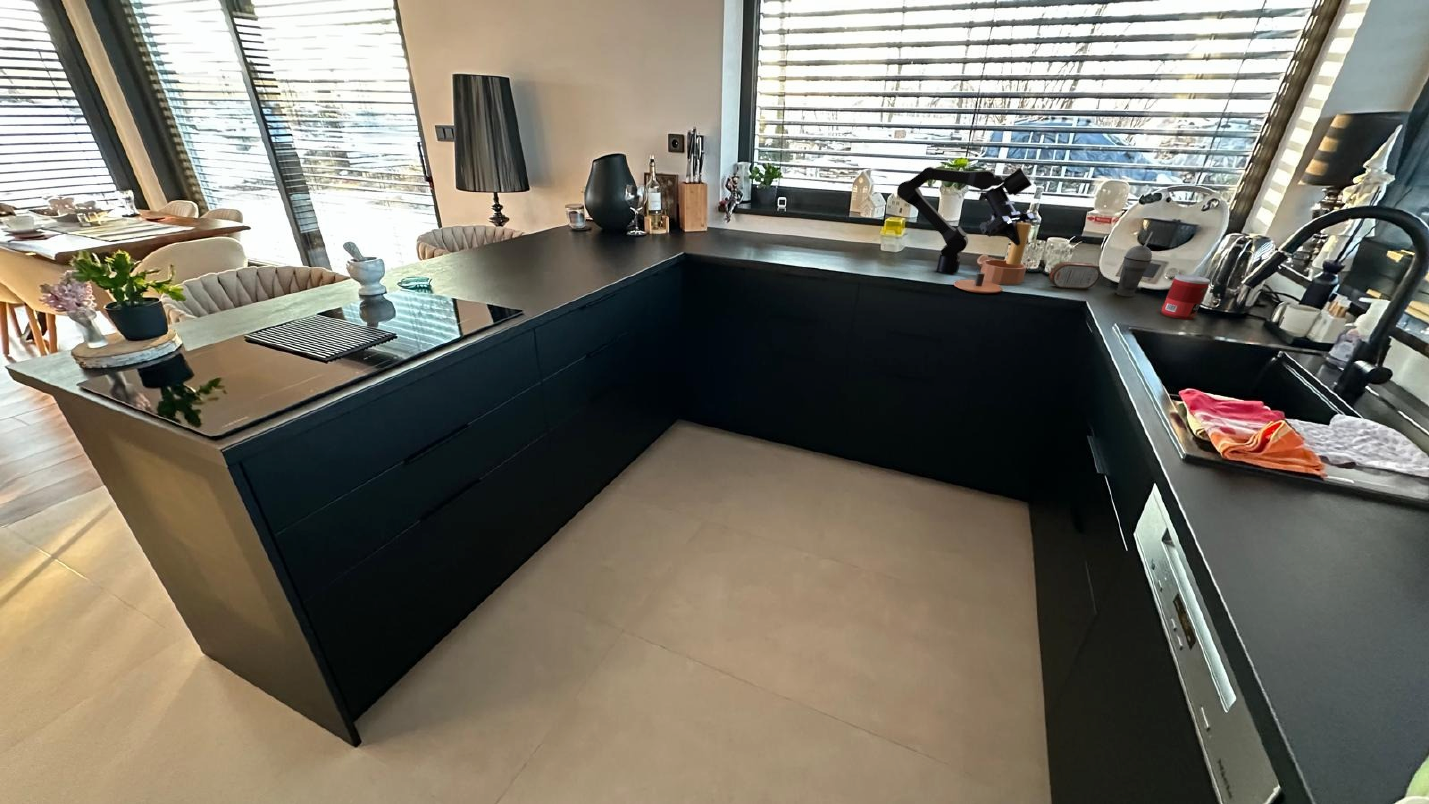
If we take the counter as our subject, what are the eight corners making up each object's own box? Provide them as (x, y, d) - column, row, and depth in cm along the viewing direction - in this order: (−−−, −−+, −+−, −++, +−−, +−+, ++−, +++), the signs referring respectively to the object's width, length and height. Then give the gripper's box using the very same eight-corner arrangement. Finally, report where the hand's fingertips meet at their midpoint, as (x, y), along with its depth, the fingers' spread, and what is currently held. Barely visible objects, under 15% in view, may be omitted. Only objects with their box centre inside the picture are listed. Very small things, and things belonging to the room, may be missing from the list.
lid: (947, 289, 181) (951, 273, 179) (960, 280, 192) (964, 265, 189) (995, 297, 174) (999, 281, 171) (1006, 288, 184) (1010, 272, 182)
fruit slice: (1000, 272, 204) (1003, 258, 202) (982, 271, 203) (986, 258, 201) (988, 266, 211) (992, 253, 209) (971, 266, 211) (974, 253, 208)
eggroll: (1004, 263, 186) (1015, 223, 180) (1007, 261, 189) (1018, 221, 183) (1018, 265, 183) (1029, 225, 177) (1021, 263, 186) (1033, 223, 180)
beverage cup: (1114, 290, 185) (1136, 228, 176) (1140, 294, 180) (1164, 231, 171) (1108, 294, 180) (1131, 230, 171) (1135, 299, 176) (1159, 234, 167)
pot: (974, 280, 193) (978, 264, 190) (984, 272, 202) (988, 257, 200) (1017, 287, 185) (1021, 270, 183) (1025, 279, 195) (1030, 263, 192)
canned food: (1195, 321, 157) (1212, 283, 152) (1161, 316, 160) (1176, 278, 155) (1192, 314, 162) (1208, 277, 157) (1159, 309, 166) (1173, 273, 161)
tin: (1091, 287, 187) (1100, 262, 183) (1096, 290, 184) (1105, 264, 180) (1045, 285, 188) (1052, 260, 184) (1049, 288, 185) (1057, 262, 181)
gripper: (996, 217, 196) (1017, 255, 193) (964, 221, 187) (985, 261, 184) (1024, 196, 187) (1046, 236, 184) (991, 199, 178) (1014, 241, 175)
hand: (1022, 244), depth 182 cm, fingers closed on eggroll, 4 cm apart
